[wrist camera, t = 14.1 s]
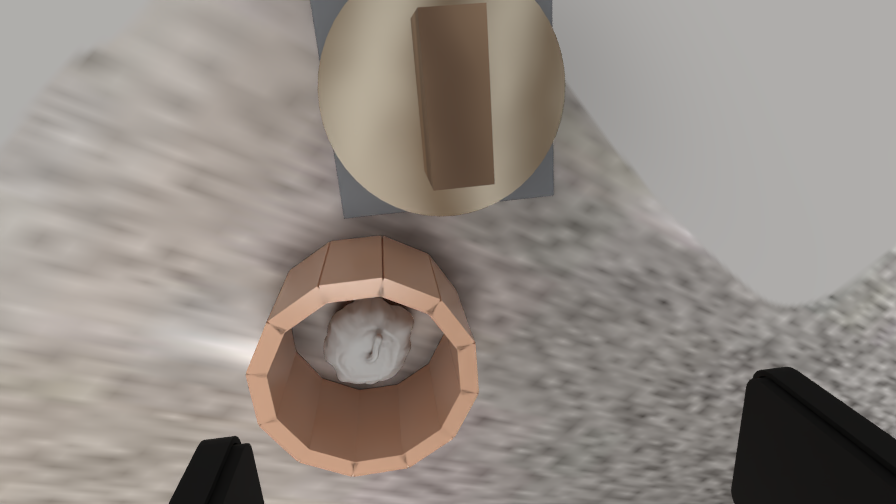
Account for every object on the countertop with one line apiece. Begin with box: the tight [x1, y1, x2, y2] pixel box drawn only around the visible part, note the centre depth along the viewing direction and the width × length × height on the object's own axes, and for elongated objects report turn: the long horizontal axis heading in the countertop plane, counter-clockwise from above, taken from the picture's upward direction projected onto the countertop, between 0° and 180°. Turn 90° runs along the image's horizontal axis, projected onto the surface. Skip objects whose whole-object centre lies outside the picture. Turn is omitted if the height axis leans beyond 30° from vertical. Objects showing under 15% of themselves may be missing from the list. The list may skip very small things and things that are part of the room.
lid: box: [318, 0, 565, 216], centre depth 26 cm, size 14×14×6 cm
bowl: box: [246, 235, 479, 477], centre depth 31 cm, size 12×12×7 cm
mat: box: [310, 0, 554, 219], centre depth 29 cm, size 13×13×1 cm
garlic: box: [324, 297, 414, 384], centre depth 32 cm, size 6×5×5 cm
